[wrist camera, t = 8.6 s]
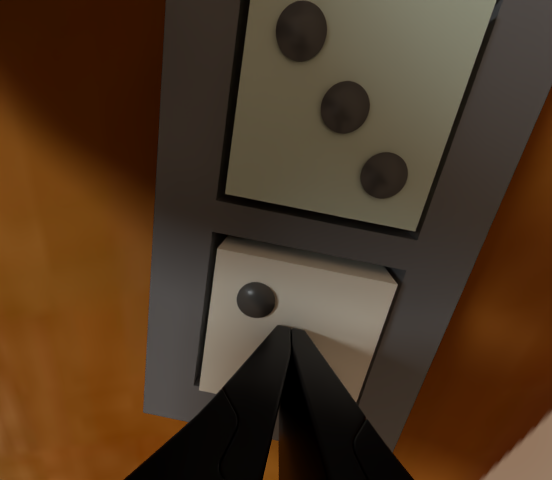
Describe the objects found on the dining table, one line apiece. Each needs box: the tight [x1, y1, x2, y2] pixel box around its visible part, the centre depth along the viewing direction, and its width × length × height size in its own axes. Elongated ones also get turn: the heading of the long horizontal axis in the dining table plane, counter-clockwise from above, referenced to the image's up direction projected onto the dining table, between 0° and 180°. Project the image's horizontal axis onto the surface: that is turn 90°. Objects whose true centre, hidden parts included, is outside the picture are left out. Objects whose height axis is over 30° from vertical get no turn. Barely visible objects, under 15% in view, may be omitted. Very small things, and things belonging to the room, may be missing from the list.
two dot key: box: [199, 235, 398, 402], centre depth 10 cm, size 5×5×2 cm
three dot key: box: [225, 0, 496, 231], centre depth 8 cm, size 5×5×2 cm
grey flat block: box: [143, 0, 552, 453], centre depth 8 cm, size 22×9×2 cm, turn 169°
